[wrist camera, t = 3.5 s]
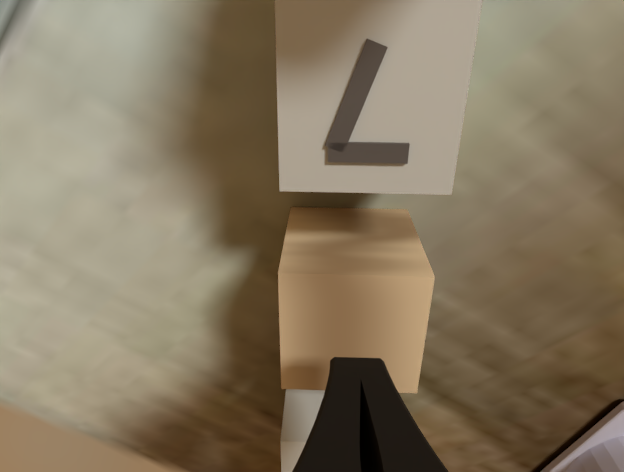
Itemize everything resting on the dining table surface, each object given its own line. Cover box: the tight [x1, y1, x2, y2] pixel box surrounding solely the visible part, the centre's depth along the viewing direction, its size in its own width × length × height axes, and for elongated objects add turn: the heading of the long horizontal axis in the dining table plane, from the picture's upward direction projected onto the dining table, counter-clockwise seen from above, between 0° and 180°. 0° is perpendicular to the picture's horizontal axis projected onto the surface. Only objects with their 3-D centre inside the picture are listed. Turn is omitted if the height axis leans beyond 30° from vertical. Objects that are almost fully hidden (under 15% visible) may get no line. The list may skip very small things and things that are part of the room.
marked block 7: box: [275, 0, 482, 195], centre depth 13 cm, size 4×4×5 cm
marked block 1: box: [280, 389, 325, 472], centre depth 19 cm, size 4×4×5 cm
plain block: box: [278, 207, 435, 393], centre depth 16 cm, size 4×4×5 cm
